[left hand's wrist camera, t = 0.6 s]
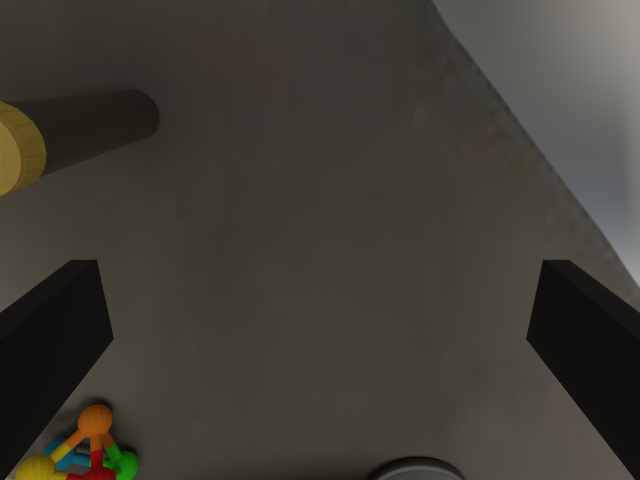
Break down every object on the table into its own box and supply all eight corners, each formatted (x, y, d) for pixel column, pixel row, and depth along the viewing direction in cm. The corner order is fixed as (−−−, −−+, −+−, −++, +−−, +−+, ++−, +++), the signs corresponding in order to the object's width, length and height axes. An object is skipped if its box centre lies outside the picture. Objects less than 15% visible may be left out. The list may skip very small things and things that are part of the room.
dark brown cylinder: (138, 80, 39) (-26, 88, 21) (168, 122, 40) (40, 164, 22) (102, 107, 40) (-86, 137, 21) (133, 147, 41) (-18, 207, 23)
